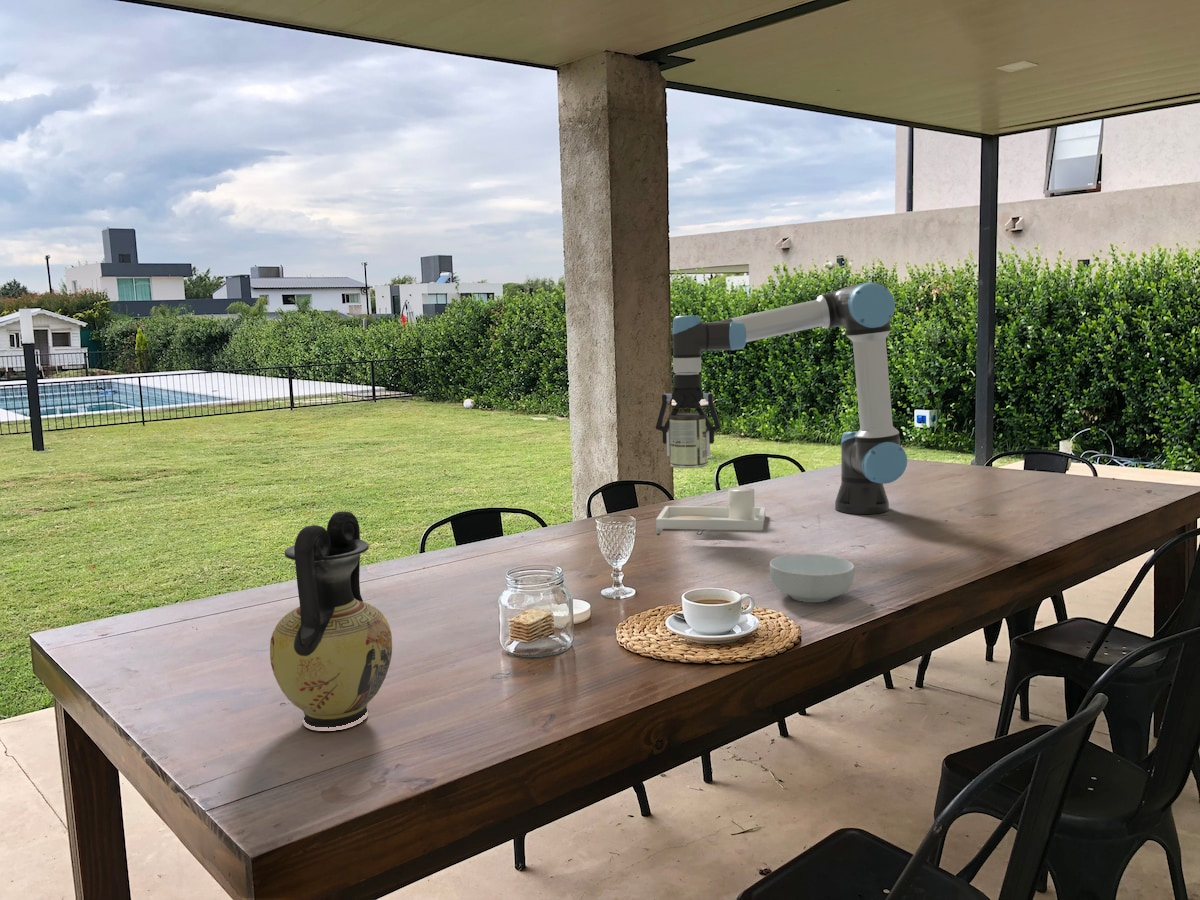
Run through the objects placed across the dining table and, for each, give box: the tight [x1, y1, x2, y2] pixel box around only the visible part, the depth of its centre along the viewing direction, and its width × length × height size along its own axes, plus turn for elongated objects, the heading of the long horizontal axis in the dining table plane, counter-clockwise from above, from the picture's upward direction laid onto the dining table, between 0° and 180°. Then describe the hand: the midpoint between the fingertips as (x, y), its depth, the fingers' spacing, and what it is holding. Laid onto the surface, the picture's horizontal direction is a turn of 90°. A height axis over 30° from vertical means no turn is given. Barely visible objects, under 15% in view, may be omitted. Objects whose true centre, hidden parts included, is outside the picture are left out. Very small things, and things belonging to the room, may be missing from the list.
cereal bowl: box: [769, 553, 855, 603], centre depth 187 cm, size 17×17×7 cm
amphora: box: [269, 510, 393, 728], centre depth 133 cm, size 18×17×30 cm
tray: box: [655, 505, 766, 535], centre depth 252 cm, size 28×18×4 cm, turn 78°
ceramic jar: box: [727, 486, 756, 520], centre depth 250 cm, size 7×7×9 cm
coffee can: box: [668, 411, 709, 469], centre depth 251 cm, size 10×10×14 cm
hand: (688, 455), depth 251 cm, fingers closed on coffee can, 10 cm apart
